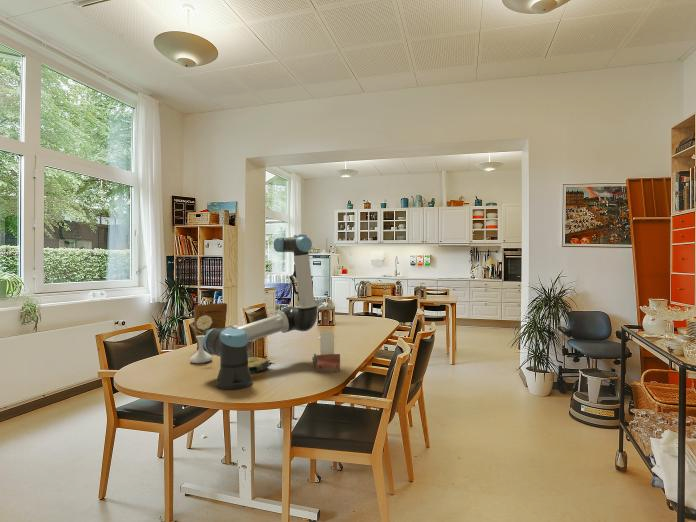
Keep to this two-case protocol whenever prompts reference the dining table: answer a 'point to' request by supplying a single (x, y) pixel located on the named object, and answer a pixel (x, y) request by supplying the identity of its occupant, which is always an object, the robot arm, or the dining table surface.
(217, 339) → the robot arm
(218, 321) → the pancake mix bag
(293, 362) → the dining table surface
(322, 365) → the red brick
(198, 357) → the flower in vase
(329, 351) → the block
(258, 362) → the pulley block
